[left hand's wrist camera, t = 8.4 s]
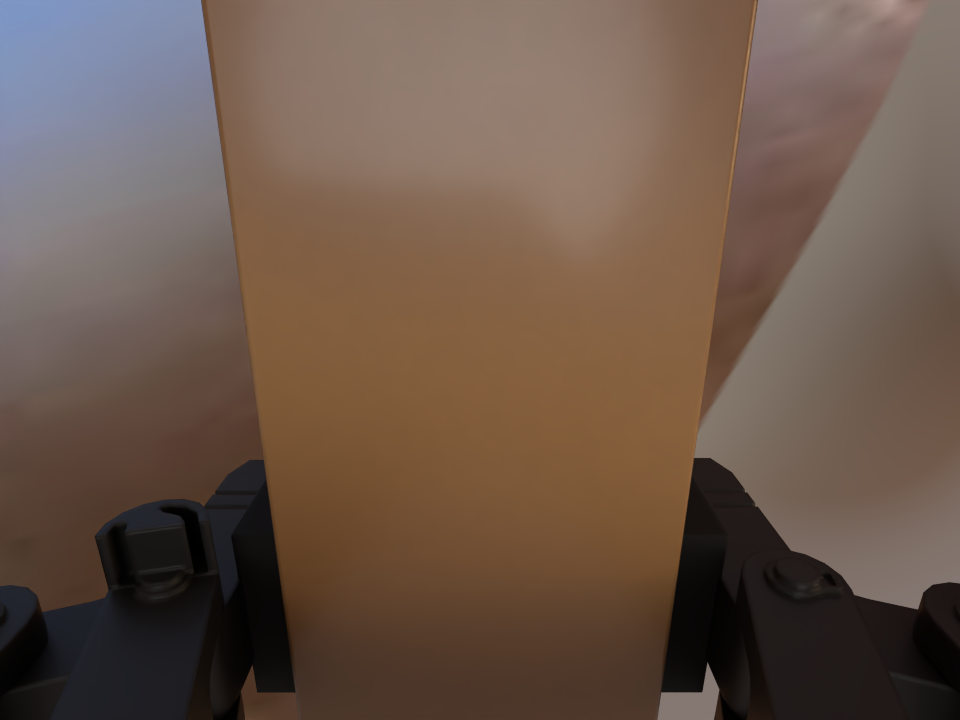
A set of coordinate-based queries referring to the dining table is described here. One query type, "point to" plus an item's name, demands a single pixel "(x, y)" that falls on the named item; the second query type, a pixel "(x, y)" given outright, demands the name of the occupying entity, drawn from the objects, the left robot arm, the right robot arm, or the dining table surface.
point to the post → (478, 333)
